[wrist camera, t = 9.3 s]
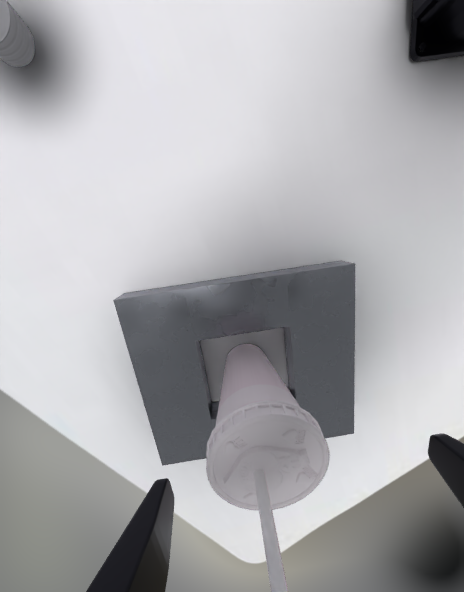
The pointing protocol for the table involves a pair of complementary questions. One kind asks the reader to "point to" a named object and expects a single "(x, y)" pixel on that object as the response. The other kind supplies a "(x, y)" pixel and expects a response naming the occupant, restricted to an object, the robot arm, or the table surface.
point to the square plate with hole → (237, 320)
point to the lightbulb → (14, 38)
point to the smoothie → (263, 447)
